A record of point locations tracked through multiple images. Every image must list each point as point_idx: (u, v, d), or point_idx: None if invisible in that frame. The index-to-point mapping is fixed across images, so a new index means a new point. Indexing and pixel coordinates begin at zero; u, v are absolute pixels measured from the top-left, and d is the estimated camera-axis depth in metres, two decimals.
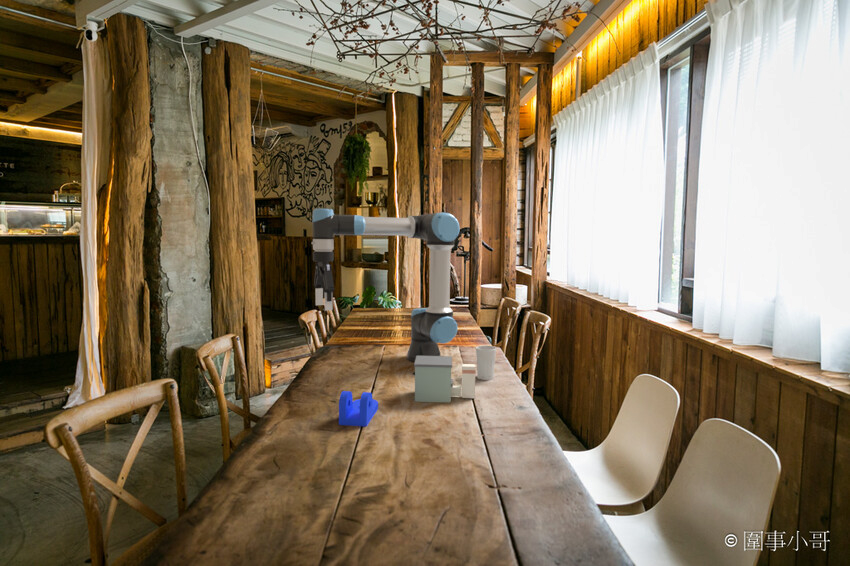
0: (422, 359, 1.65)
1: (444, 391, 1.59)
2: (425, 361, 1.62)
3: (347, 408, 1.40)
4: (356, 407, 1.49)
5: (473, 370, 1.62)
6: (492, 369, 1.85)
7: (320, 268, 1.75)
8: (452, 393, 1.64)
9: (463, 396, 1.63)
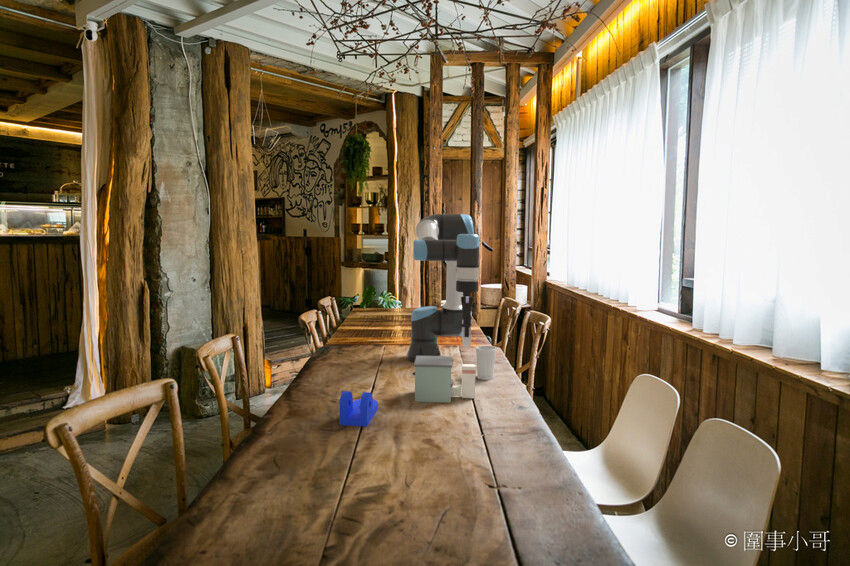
0: (422, 359, 1.65)
1: (444, 391, 1.59)
2: (425, 361, 1.62)
3: (347, 408, 1.40)
4: (356, 407, 1.48)
5: (473, 370, 1.62)
6: (492, 369, 1.85)
7: (462, 299, 1.59)
8: (452, 393, 1.64)
9: (463, 396, 1.63)
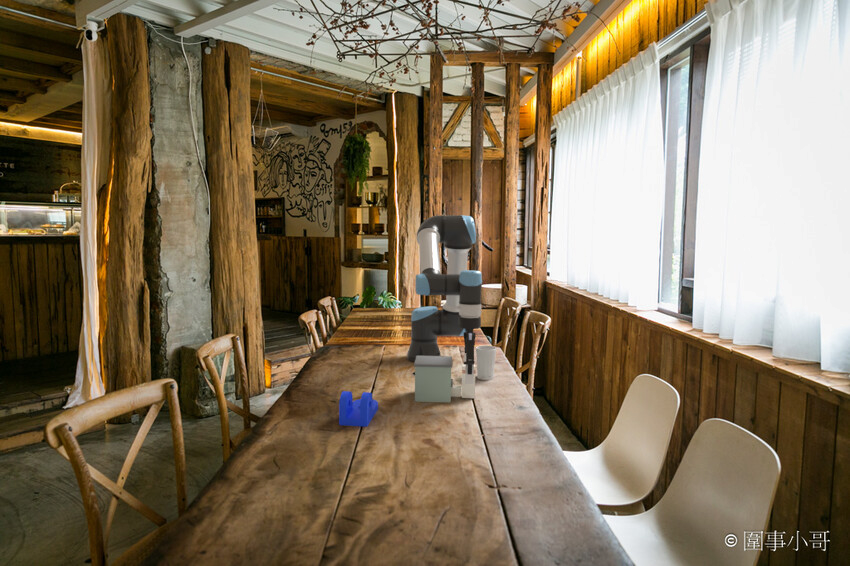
0: (422, 359, 1.65)
1: (444, 391, 1.59)
2: (425, 361, 1.62)
3: (347, 408, 1.40)
4: (356, 407, 1.48)
5: None
6: (492, 369, 1.85)
7: (464, 335, 1.60)
8: (452, 393, 1.64)
9: (463, 396, 1.63)
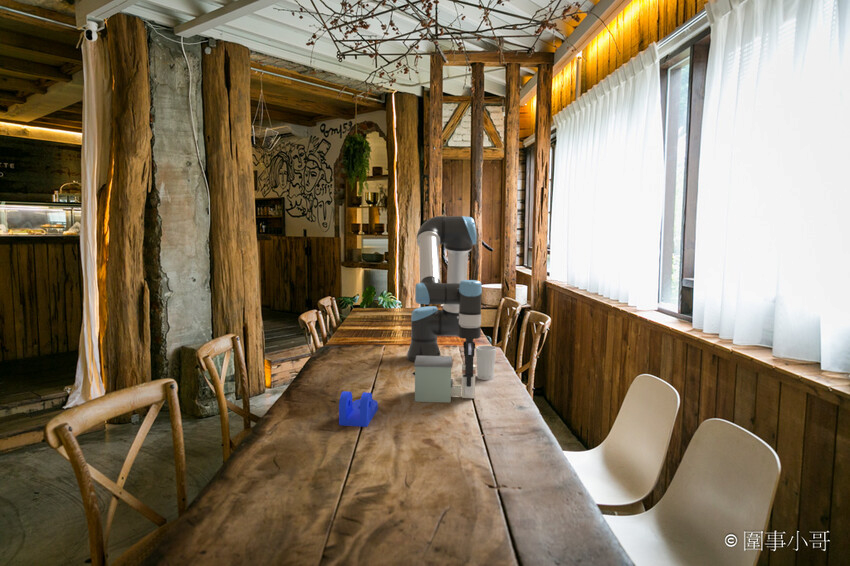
0: (422, 359, 1.65)
1: (444, 391, 1.59)
2: (425, 361, 1.62)
3: (347, 408, 1.40)
4: (356, 407, 1.48)
5: (473, 370, 1.62)
6: (492, 369, 1.85)
7: (464, 346, 1.61)
8: (452, 393, 1.64)
9: (463, 396, 1.63)
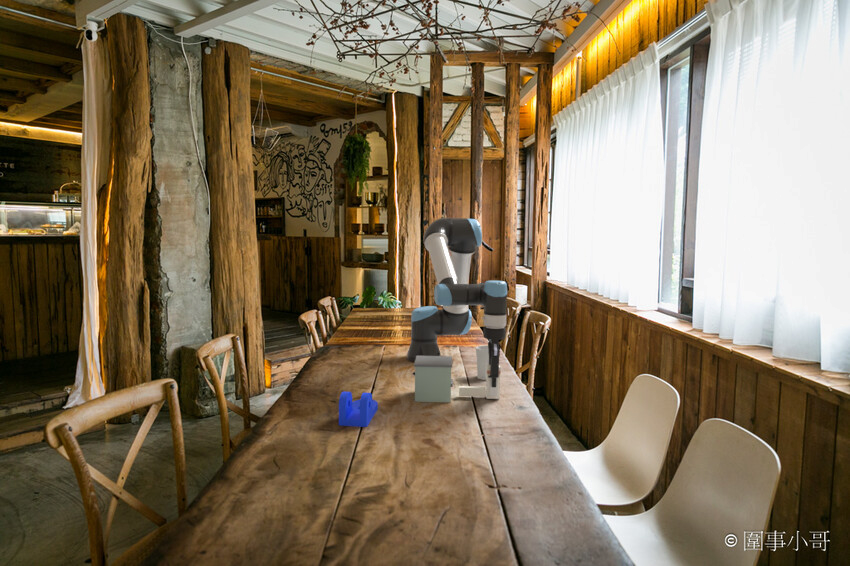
0: (422, 359, 1.65)
1: (444, 391, 1.59)
2: (425, 361, 1.62)
3: (347, 408, 1.40)
4: (356, 407, 1.48)
5: None
6: None
7: (489, 347, 1.60)
8: (477, 394, 1.63)
9: (488, 397, 1.62)
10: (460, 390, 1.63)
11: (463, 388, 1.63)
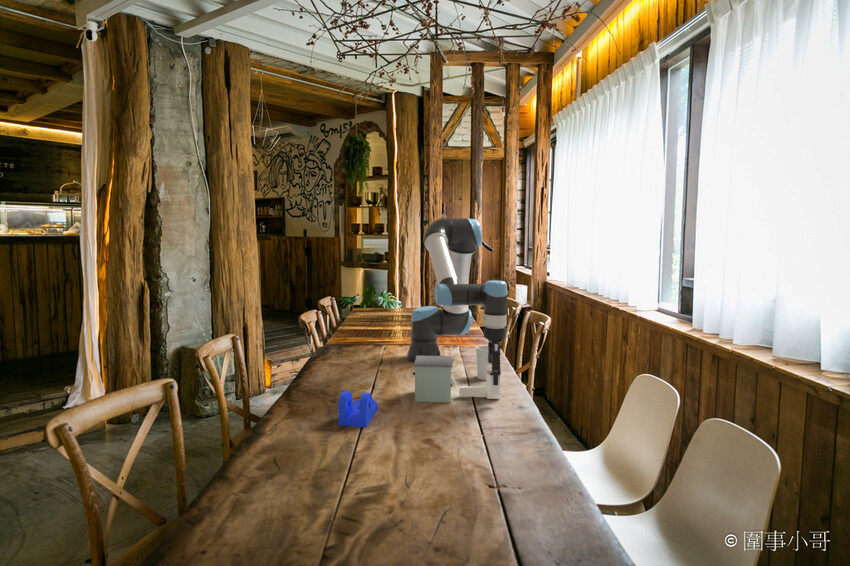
0: (422, 359, 1.65)
1: (444, 391, 1.59)
2: (425, 361, 1.62)
3: (346, 408, 1.40)
4: (356, 408, 1.48)
5: None
6: None
7: (489, 346, 1.60)
8: (477, 394, 1.63)
9: (488, 397, 1.62)
10: (460, 390, 1.63)
11: (463, 388, 1.63)
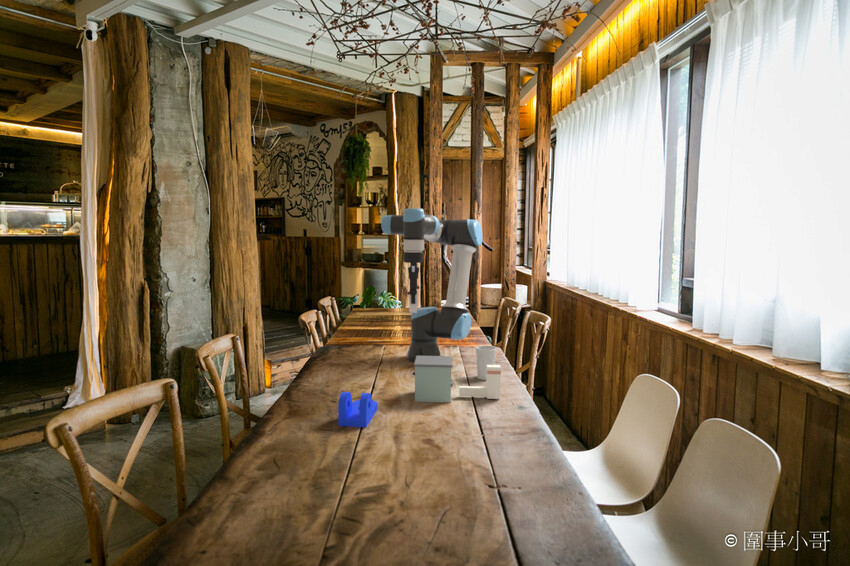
0: (422, 359, 1.65)
1: (444, 391, 1.59)
2: (425, 361, 1.62)
3: (346, 409, 1.40)
4: (355, 408, 1.48)
5: (498, 371, 1.61)
6: None
7: (409, 269, 1.72)
8: (477, 394, 1.63)
9: (488, 397, 1.62)
10: (460, 390, 1.63)
11: (463, 388, 1.63)
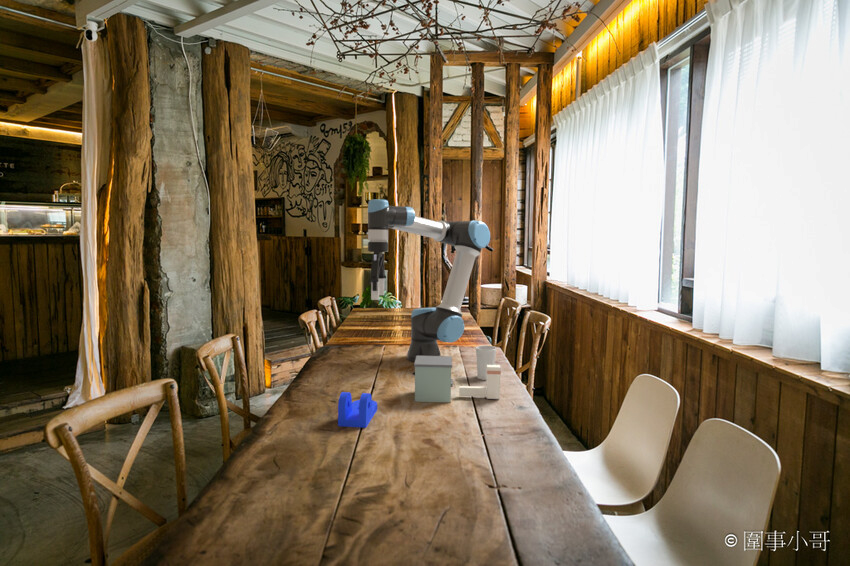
0: (422, 359, 1.65)
1: (444, 391, 1.59)
2: (425, 361, 1.62)
3: (346, 409, 1.39)
4: (355, 408, 1.48)
5: (498, 371, 1.61)
6: None
7: None
8: (477, 394, 1.63)
9: (488, 397, 1.62)
10: (460, 390, 1.63)
11: (463, 388, 1.63)
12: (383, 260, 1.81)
